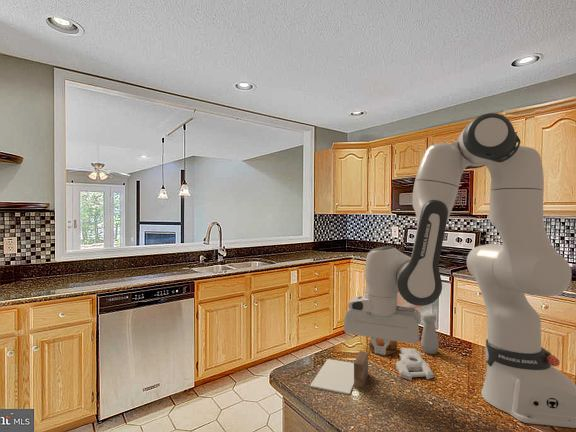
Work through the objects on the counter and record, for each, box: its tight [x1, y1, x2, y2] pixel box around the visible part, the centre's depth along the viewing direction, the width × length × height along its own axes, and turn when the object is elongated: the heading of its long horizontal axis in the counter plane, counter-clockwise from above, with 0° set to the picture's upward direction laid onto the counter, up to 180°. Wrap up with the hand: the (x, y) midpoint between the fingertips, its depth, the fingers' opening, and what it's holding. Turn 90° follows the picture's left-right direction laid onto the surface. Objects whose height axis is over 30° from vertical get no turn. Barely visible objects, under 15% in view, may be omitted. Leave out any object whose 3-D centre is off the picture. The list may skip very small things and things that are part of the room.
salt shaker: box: [420, 312, 440, 355], centre depth 112 cm, size 6×6×13 cm
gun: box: [395, 347, 435, 382], centre depth 101 cm, size 18×3×10 cm
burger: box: [368, 338, 398, 356], centre depth 114 cm, size 10×9×5 cm
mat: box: [309, 358, 354, 396], centre depth 96 cm, size 11×18×1 cm, turn 157°
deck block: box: [353, 350, 369, 389], centre depth 93 cm, size 2×9×6 cm, turn 157°
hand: (380, 353), depth 91 cm, fingers closed
